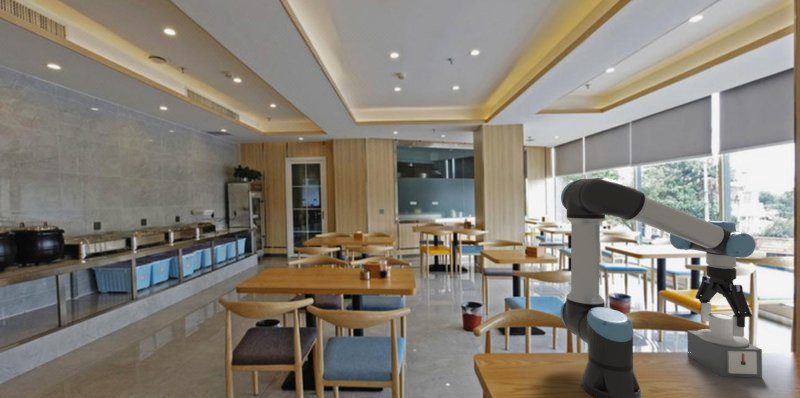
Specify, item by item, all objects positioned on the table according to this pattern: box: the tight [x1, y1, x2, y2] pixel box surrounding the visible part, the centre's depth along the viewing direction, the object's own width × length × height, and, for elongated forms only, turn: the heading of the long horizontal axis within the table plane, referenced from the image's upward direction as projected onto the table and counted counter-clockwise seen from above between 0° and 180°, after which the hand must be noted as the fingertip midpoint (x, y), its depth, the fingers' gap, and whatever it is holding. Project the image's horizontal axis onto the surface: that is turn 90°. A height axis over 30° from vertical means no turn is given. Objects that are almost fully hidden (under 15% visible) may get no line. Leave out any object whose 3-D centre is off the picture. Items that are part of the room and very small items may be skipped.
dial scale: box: [686, 328, 763, 379], centre depth 118 cm, size 13×16×10 cm
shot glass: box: [708, 312, 733, 340], centre depth 119 cm, size 7×7×7 cm
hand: (721, 328), depth 119 cm, fingers open, 13 cm apart
